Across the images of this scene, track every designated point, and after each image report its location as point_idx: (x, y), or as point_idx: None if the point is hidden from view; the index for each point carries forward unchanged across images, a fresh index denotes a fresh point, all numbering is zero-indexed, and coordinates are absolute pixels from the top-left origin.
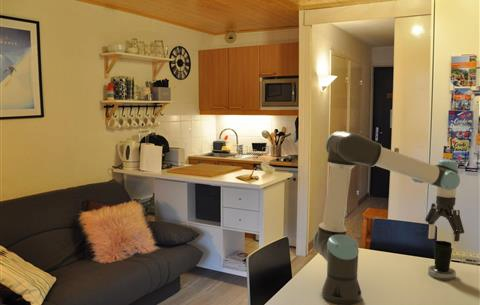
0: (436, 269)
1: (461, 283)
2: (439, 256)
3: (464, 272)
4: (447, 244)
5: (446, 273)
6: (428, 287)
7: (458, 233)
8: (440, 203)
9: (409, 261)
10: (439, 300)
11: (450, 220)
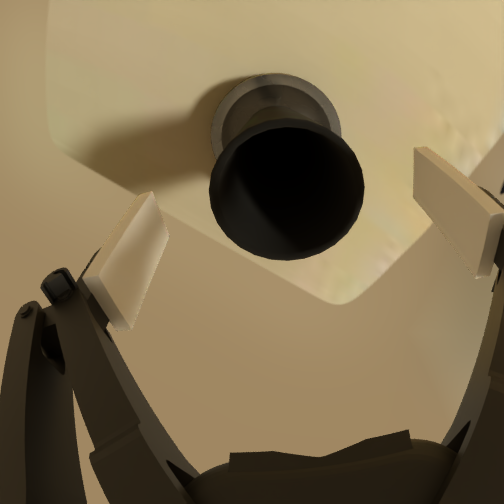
0: (272, 106)
1: (183, 169)
2: (249, 121)
3: None
4: (311, 237)
5: (225, 133)
6: (149, 12)
7: (31, 301)
8: None
9: (451, 93)
10: (47, 24)
11: (85, 419)
